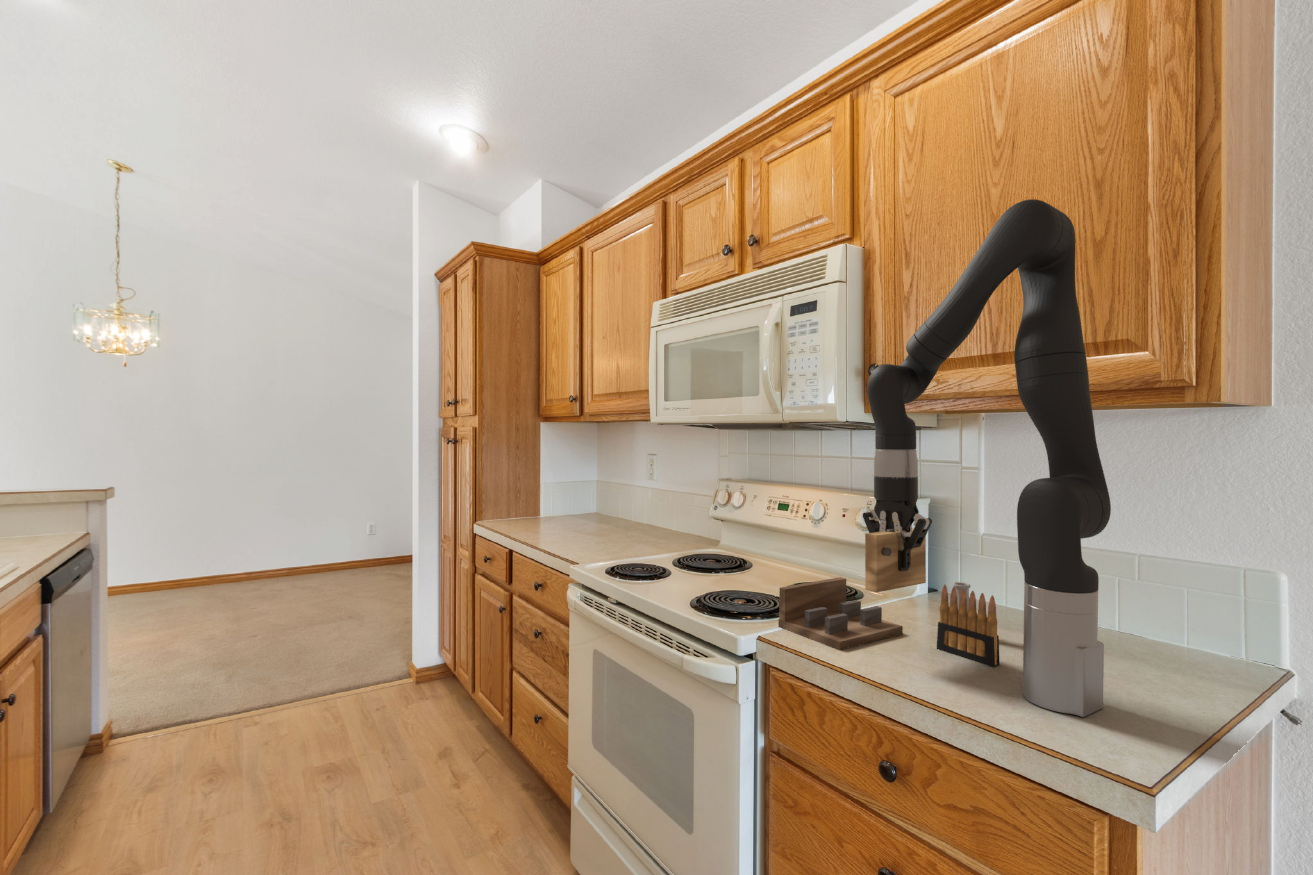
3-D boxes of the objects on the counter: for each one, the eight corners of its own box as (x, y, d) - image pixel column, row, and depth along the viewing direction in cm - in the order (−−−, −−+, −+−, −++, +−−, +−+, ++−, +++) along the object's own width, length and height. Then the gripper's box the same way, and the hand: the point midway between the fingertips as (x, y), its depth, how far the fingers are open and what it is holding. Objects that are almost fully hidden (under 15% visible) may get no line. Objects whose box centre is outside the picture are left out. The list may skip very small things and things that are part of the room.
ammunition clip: (999, 665, 107) (1000, 595, 107) (993, 667, 106) (994, 597, 106) (942, 647, 116) (943, 582, 116) (936, 648, 115) (937, 583, 115)
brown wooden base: (902, 633, 124) (903, 593, 124) (839, 650, 114) (839, 606, 114) (839, 613, 137) (839, 576, 137) (778, 626, 128) (778, 587, 128)
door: (930, 583, 116) (930, 529, 116) (881, 593, 109) (881, 535, 109) (914, 580, 119) (914, 527, 119) (865, 589, 111) (865, 533, 111)
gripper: (943, 475, 110) (943, 573, 110) (877, 472, 122) (877, 561, 122) (916, 476, 106) (917, 578, 106) (851, 473, 118) (851, 565, 118)
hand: (896, 568), depth 114 cm, fingers closed on door, 2 cm apart
